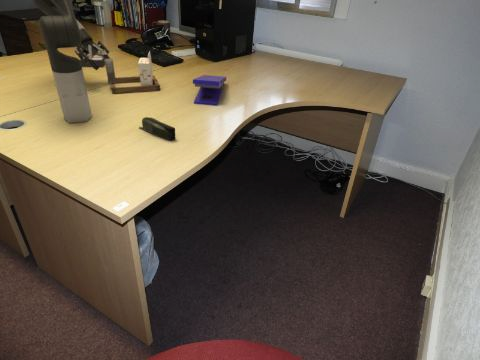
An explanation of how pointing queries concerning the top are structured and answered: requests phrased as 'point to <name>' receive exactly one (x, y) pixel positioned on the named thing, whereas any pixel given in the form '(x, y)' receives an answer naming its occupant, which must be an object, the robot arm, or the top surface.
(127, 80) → the rectangular wooden frame
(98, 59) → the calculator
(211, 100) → the stapler
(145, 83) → the ink cartridge box
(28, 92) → the top surface
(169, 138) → the black desk stapler
